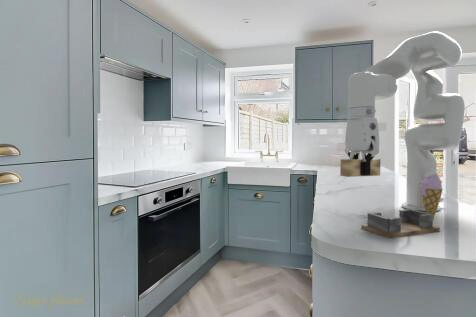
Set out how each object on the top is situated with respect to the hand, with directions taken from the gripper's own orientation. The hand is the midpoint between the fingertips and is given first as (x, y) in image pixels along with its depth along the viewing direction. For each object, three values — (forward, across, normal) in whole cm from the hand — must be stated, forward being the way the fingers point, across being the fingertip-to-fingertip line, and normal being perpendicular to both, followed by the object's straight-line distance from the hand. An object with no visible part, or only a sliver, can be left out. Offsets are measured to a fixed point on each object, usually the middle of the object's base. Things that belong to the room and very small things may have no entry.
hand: (360, 173), depth 94 cm
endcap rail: (+15, -11, -5) cm, 19 cm away
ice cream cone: (+15, -4, -24) cm, 28 cm away
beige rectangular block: (+1, 0, 0) cm, 1 cm away
